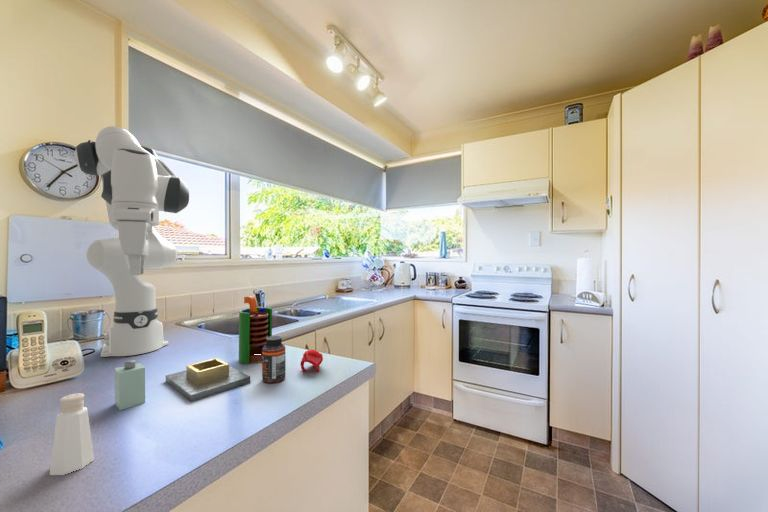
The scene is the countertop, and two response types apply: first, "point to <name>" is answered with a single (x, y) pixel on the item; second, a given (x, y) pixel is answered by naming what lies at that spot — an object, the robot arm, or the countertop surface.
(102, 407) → the countertop surface
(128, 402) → the pale green flat box
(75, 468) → the salt shaker
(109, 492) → the countertop surface
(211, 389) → the mounting plate
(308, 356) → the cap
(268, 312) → the motor
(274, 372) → the supplement bottle
